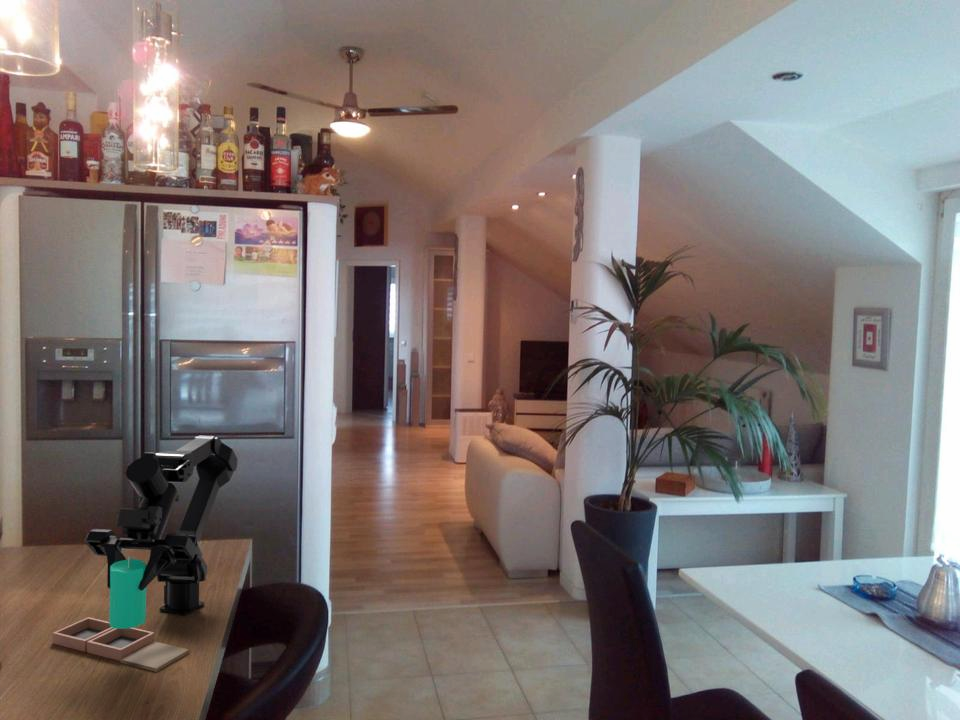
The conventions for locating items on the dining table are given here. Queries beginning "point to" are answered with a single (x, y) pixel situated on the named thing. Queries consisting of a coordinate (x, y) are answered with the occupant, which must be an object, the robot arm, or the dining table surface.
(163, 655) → the pad
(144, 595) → the candle
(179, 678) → the dining table surface
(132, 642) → the tray
